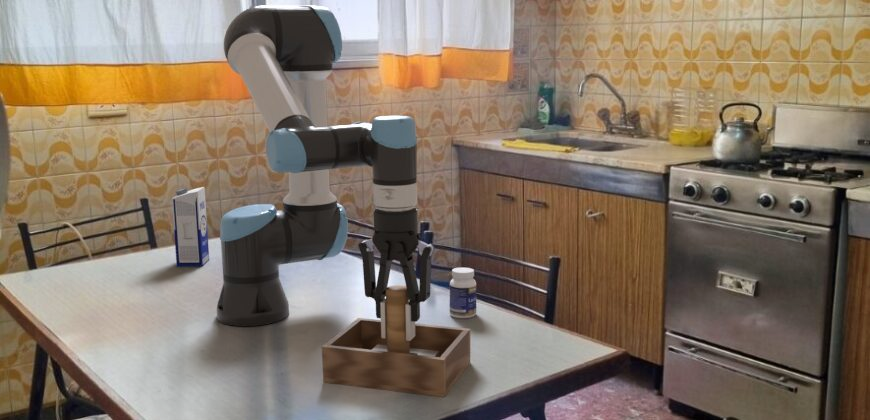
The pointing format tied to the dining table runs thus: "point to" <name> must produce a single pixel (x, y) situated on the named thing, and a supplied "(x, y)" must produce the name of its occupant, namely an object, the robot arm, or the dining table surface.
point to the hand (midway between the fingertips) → (398, 336)
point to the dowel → (397, 319)
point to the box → (397, 359)
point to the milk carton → (190, 227)
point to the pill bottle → (463, 293)
